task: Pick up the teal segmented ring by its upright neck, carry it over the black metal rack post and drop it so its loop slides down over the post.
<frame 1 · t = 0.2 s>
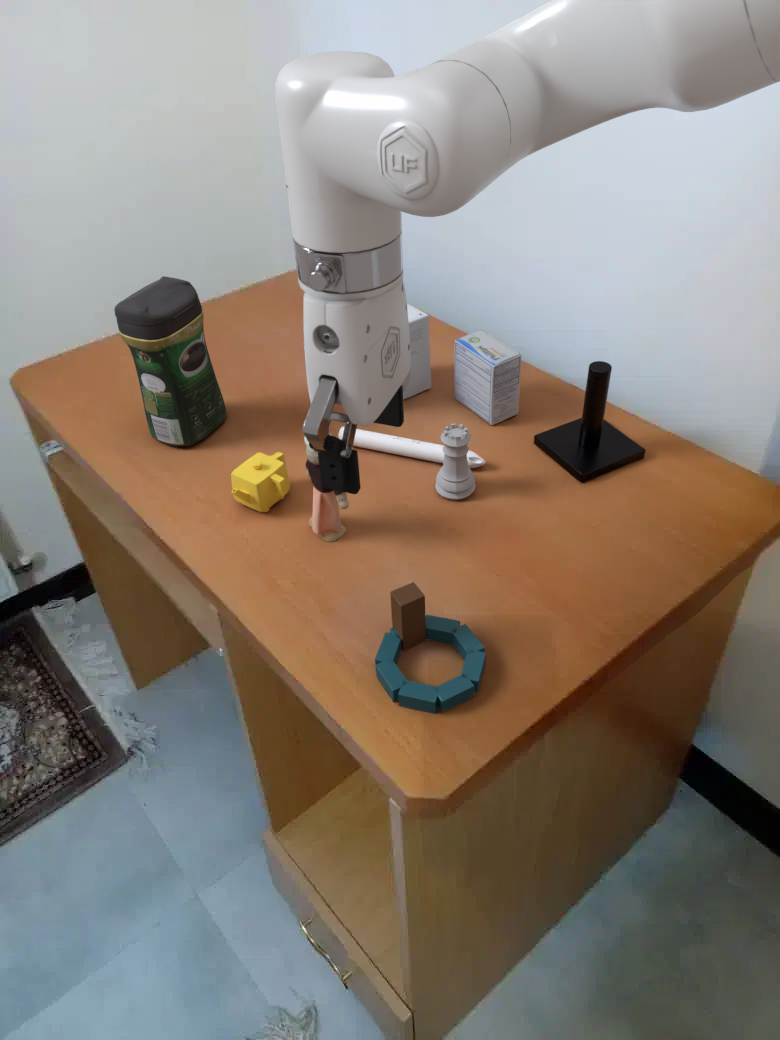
hand: (364, 454, 67), 16 cm above the table, tool pointing down, fingers open, 9 cm apart
teapot: (267, 503, 88), on the table
rook chess piece: (455, 490, 88), on the table
cosmetics box: (386, 393, 104), on the table
coffee jar: (189, 428, 100), on the table
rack: (587, 450, 92), on the table
medicine box: (485, 408, 100), on the table
marker: (412, 456, 93), on the table
grandmother figurine: (330, 532, 84), on the table
teal segmented ring: (430, 667, 70), on the table
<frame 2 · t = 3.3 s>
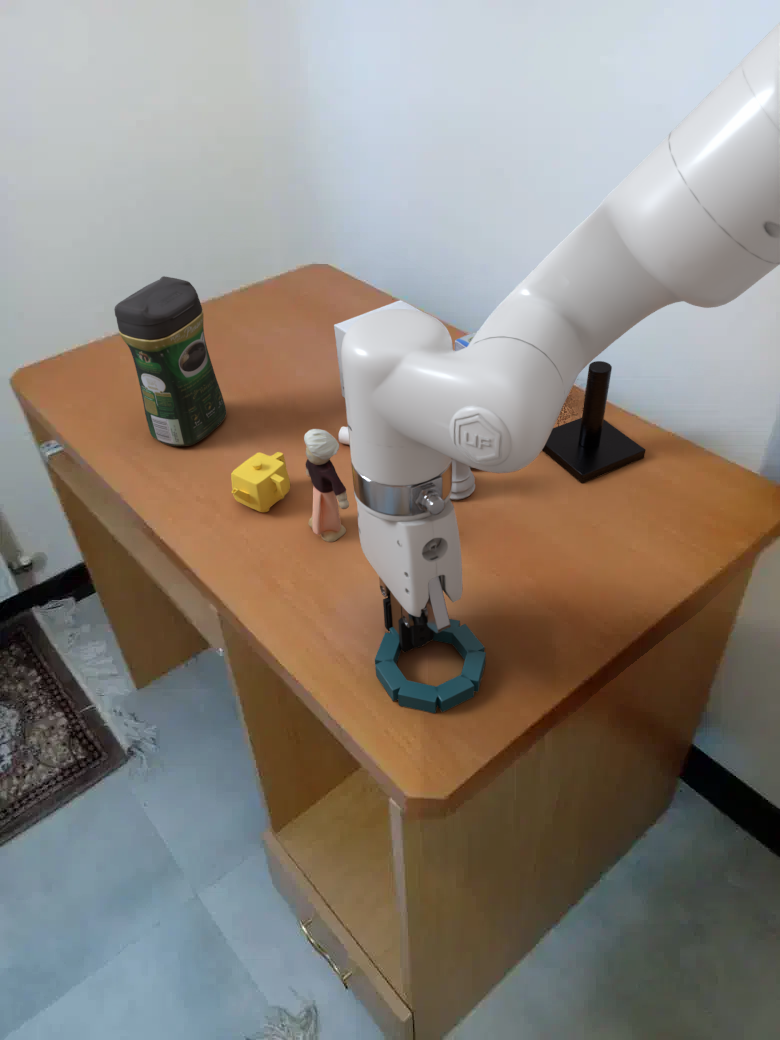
hand: (409, 633, 72), 1 cm above the table, tool pointing down, fingers closed on teal segmented ring
teal segmented ring: (430, 667, 70), on the table, touching gripper
everything else where it was.
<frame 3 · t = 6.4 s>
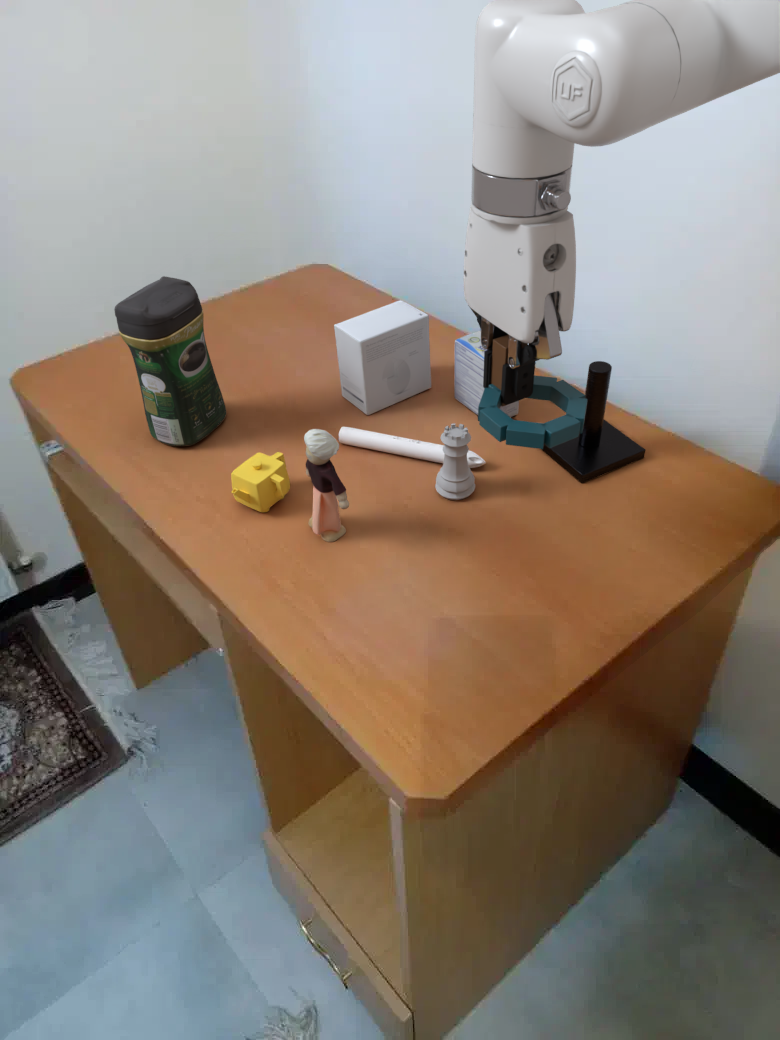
hand: (507, 391, 73), 16 cm above the table, tool pointing down, fingers closed on teal segmented ring
teal segmented ring: (531, 417, 71), point 15 cm above the table, touching gripper
everything else where it was.
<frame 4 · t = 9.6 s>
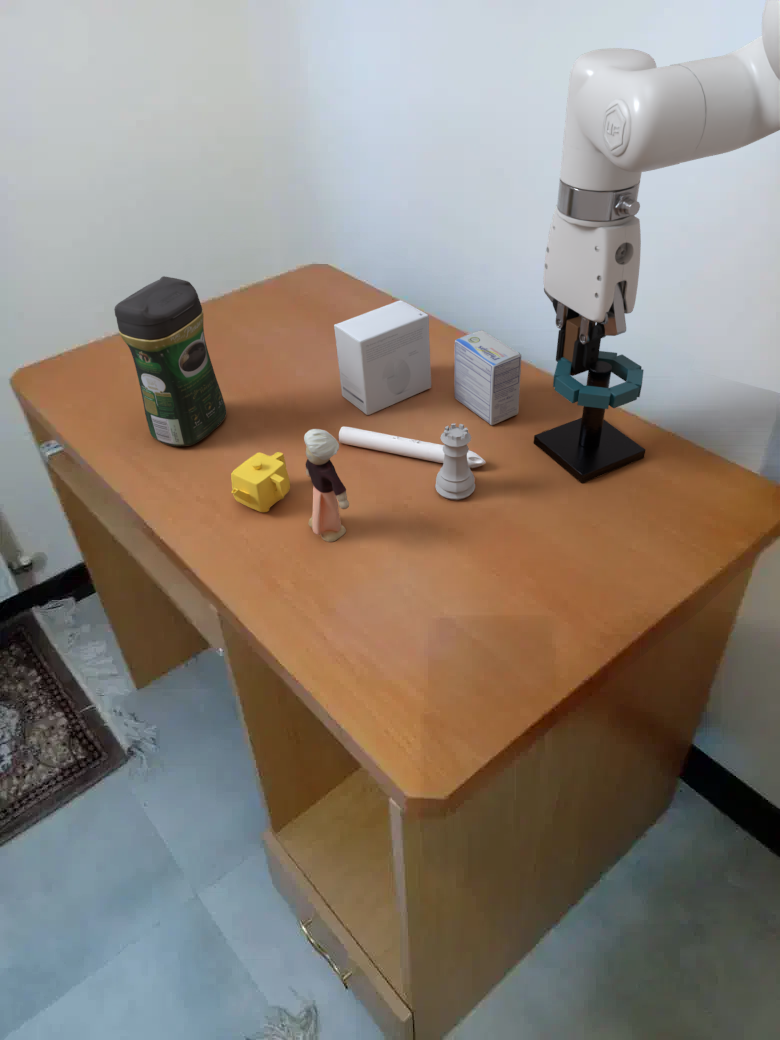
hand: (576, 363, 89), 10 cm above the table, tool pointing down, fingers closed on teal segmented ring
teal segmented ring: (596, 384, 87), point 9 cm above the table, touching gripper
everything else where it was.
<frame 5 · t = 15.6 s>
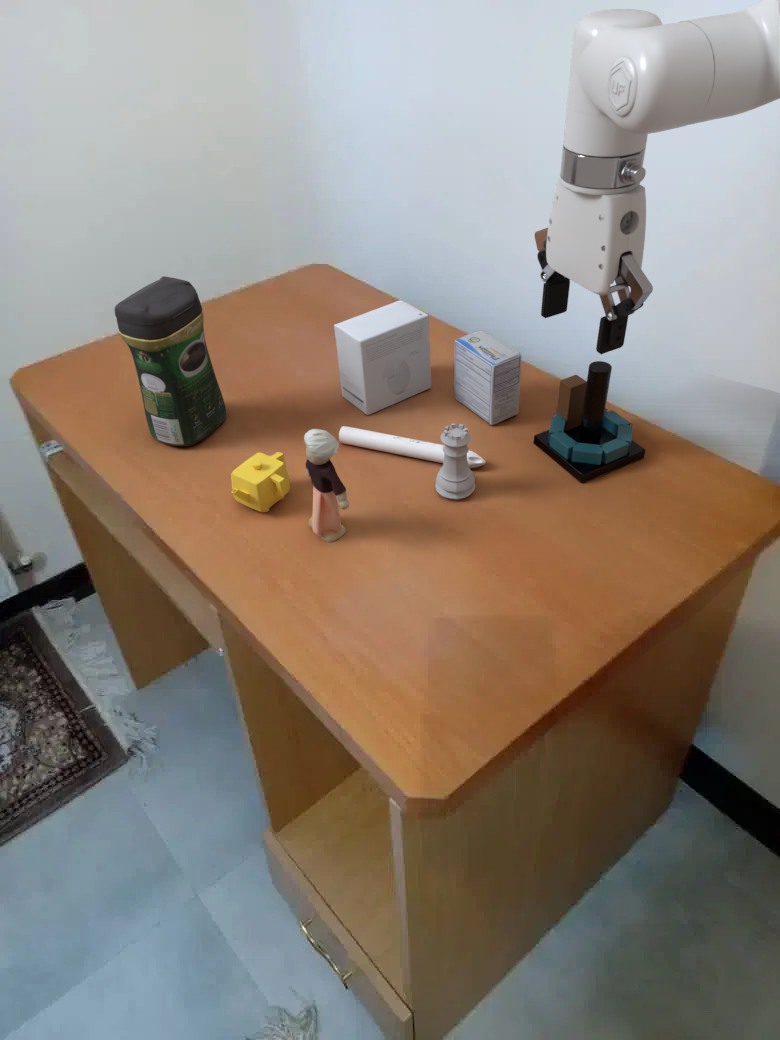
hand: (580, 331, 86), 14 cm above the table, tool pointing down, fingers open, 9 cm apart
teal segmented ring: (589, 439, 92), point 1 cm above the table, touching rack
everything else where it was.
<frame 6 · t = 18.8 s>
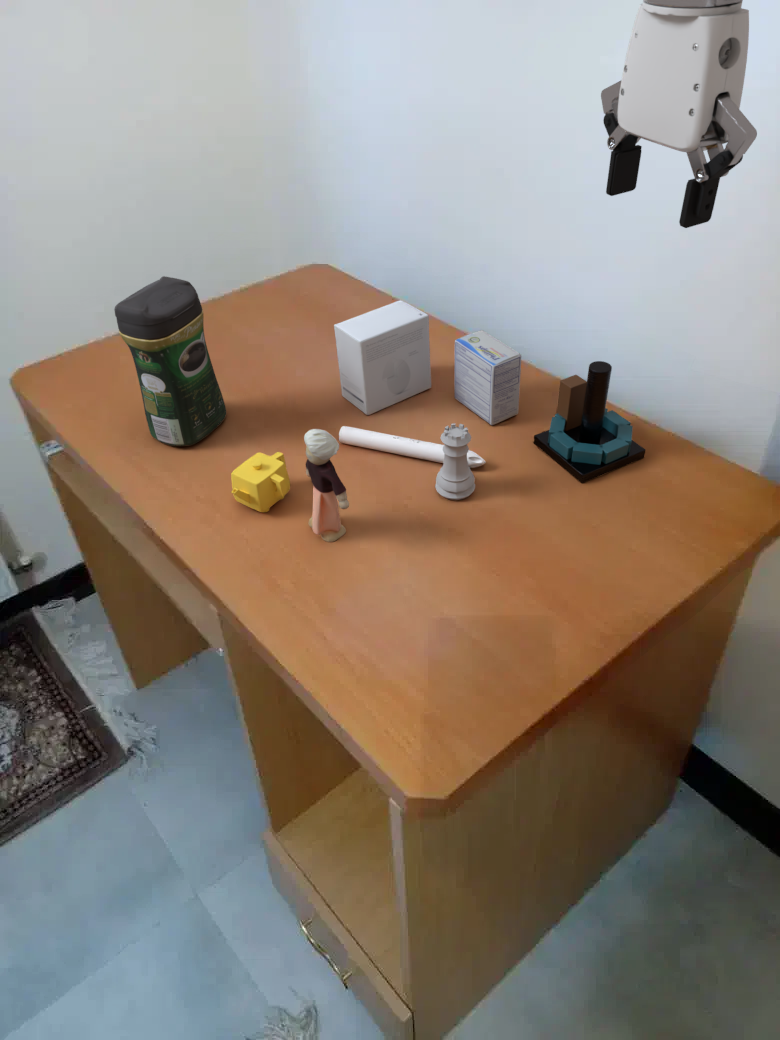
hand: (655, 207, 73), 28 cm above the table, tool pointing down, fingers open, 9 cm apart
nothing on the table moved.
at the end: teal segmented ring 0.5 cm from the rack (horizontally); teal segmented ring point 1.2 cm above the table; the gripper is holding nothing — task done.
